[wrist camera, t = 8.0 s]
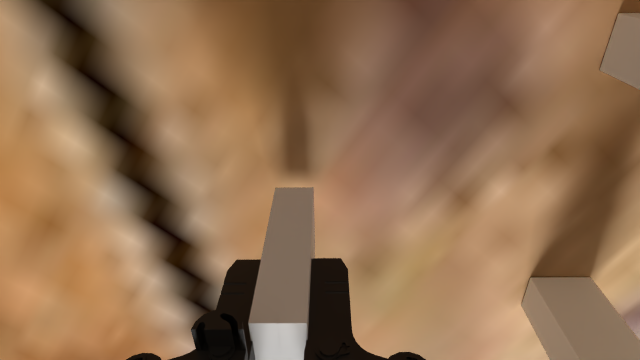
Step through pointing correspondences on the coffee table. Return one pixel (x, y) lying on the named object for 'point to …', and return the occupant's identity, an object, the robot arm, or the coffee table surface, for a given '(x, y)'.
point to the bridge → (581, 292)
